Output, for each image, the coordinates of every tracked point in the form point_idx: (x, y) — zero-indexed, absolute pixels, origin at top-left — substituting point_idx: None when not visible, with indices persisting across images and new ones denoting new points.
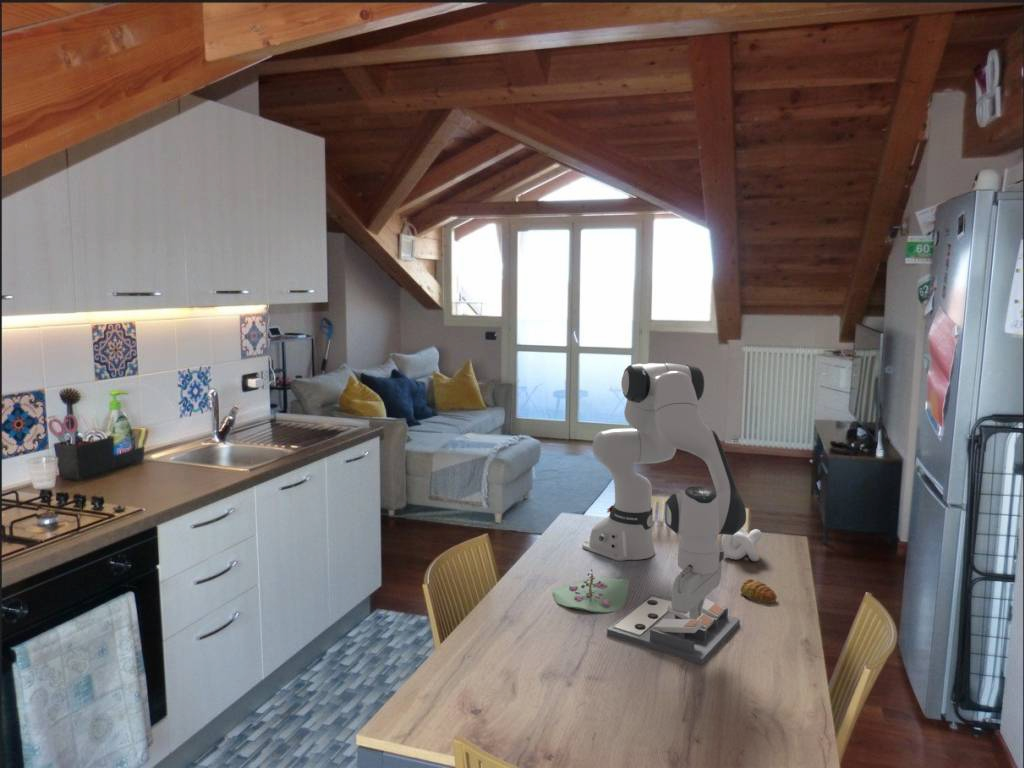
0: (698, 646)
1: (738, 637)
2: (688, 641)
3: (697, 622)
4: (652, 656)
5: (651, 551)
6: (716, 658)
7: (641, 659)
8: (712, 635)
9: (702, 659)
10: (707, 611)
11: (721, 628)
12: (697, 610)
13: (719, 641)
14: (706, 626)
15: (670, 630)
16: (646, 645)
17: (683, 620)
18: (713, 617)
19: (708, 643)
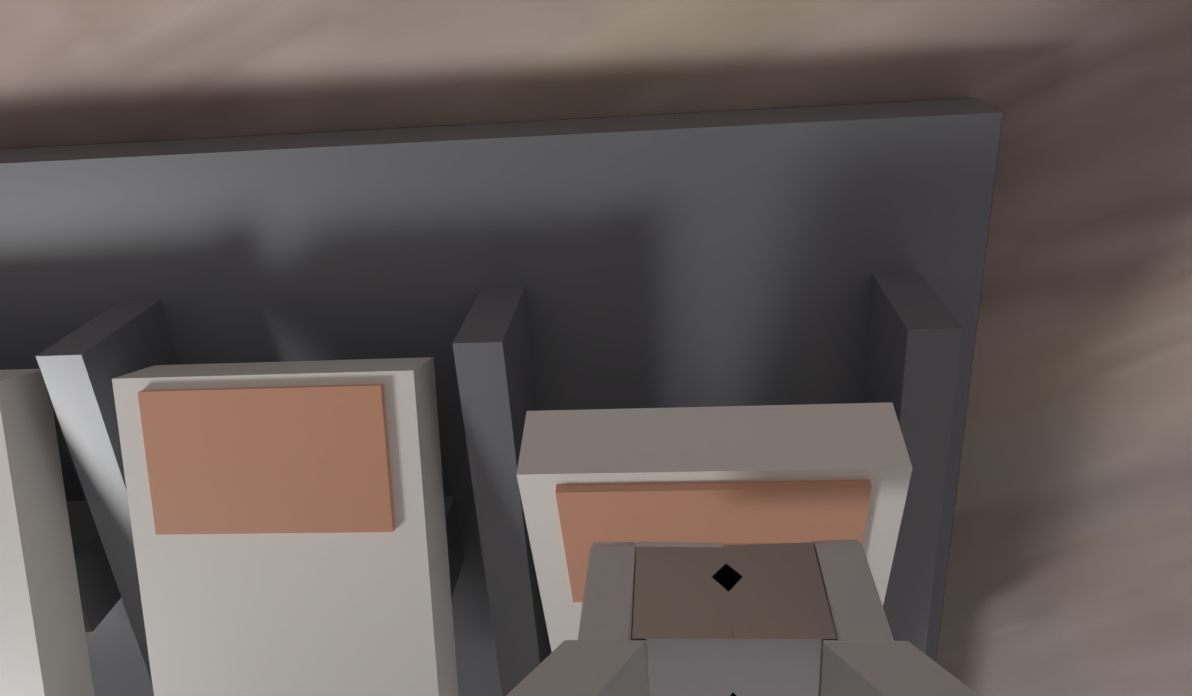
0: (706, 288)
1: (16, 34)
2: (953, 394)
3: (681, 491)
4: (1055, 577)
5: None
6: (700, 24)
7: (1169, 626)
8: (327, 270)
9: (992, 109)
10: (25, 527)
11: (80, 258)
12: (904, 680)
13: (385, 140)
14: (393, 375)
15: None
16: None
17: None
18: (56, 411)
19: (552, 224)
